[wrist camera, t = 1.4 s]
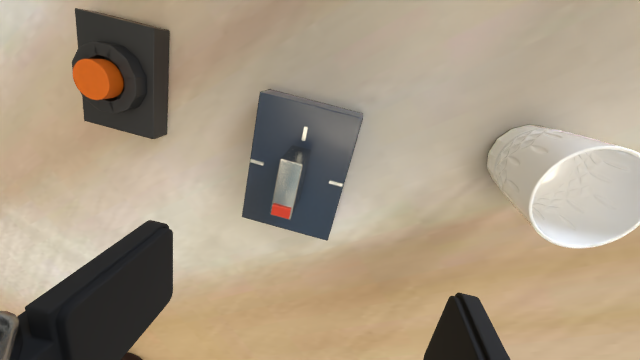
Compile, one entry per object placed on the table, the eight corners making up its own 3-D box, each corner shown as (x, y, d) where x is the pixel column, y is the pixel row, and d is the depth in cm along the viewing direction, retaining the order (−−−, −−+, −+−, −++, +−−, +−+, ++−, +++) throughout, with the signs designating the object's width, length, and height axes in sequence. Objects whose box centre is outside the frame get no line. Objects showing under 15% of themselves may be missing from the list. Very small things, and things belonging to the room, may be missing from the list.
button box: (95, 11, 31) (58, 5, 27) (169, 30, 30) (142, 26, 27) (101, 117, 35) (70, 123, 31) (166, 134, 35) (143, 143, 31)
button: (88, 54, 29) (70, 54, 27) (123, 63, 28) (108, 64, 27) (90, 92, 30) (74, 94, 28) (124, 101, 30) (110, 104, 28)
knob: (292, 144, 30) (279, 159, 25) (311, 149, 30) (302, 165, 25) (282, 194, 32) (268, 215, 27) (300, 198, 32) (289, 221, 27)
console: (269, 88, 31) (259, 91, 28) (362, 113, 31) (362, 118, 28) (250, 205, 36) (241, 217, 34) (330, 227, 36) (327, 241, 33)
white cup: (484, 200, 32) (532, 256, 23) (475, 130, 30) (524, 162, 21) (568, 184, 30) (656, 238, 21) (565, 108, 28) (664, 132, 19)
